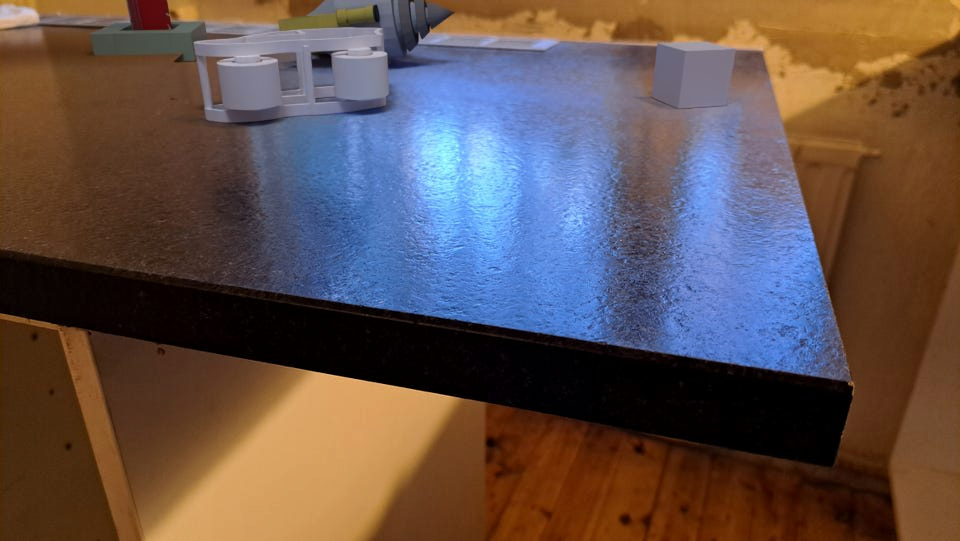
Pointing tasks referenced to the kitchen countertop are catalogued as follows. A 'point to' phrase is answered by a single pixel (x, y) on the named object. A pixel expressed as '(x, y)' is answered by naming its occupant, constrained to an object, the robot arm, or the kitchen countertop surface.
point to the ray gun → (375, 21)
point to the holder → (149, 40)
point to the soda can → (149, 14)
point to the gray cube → (692, 74)
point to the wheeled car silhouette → (257, 81)
